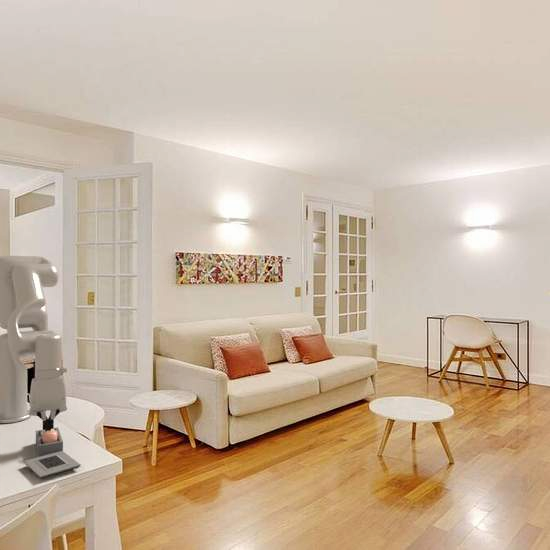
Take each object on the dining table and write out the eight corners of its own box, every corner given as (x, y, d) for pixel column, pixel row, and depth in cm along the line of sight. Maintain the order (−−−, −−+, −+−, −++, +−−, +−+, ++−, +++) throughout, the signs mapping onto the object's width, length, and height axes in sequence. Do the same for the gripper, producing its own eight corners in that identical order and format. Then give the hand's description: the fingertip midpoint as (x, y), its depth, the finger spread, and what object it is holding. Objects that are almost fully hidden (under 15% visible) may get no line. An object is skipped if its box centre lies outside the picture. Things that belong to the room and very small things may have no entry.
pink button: (42, 444, 139) (42, 431, 138) (56, 442, 141) (56, 429, 141) (43, 449, 135) (43, 435, 135) (57, 446, 137) (58, 433, 137)
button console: (35, 443, 145) (35, 430, 145) (57, 439, 149) (57, 427, 148) (38, 459, 133) (38, 445, 133) (62, 455, 137) (62, 441, 136)
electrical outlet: (80, 472, 126) (80, 463, 126) (39, 484, 119) (40, 475, 119) (62, 457, 136) (62, 449, 136) (23, 468, 128) (23, 459, 128)
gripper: (72, 368, 151) (72, 424, 151) (20, 373, 143) (20, 431, 143) (75, 373, 144) (75, 431, 144) (21, 378, 136) (21, 439, 137)
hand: (48, 431), depth 144 cm, fingers closed
